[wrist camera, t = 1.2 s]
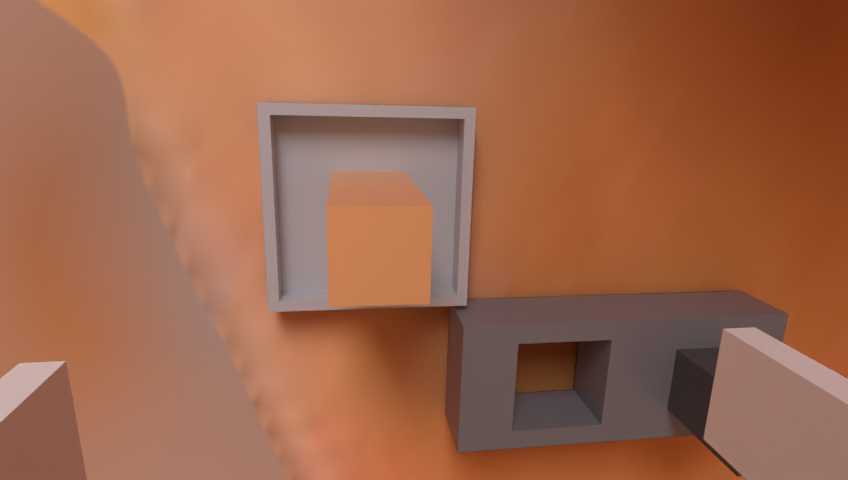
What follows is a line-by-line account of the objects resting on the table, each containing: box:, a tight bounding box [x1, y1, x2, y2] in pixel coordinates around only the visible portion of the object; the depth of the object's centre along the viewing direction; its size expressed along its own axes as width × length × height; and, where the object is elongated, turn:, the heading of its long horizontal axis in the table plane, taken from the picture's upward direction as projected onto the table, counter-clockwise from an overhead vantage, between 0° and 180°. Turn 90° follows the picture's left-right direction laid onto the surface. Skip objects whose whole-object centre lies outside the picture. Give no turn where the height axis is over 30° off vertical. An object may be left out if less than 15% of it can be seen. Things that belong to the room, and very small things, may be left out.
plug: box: [326, 171, 433, 307], centre depth 25 cm, size 4×4×10 cm
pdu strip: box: [445, 291, 788, 476], centre depth 30 cm, size 8×20×10 cm, turn 89°
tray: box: [257, 102, 476, 312], centre depth 29 cm, size 11×11×2 cm
